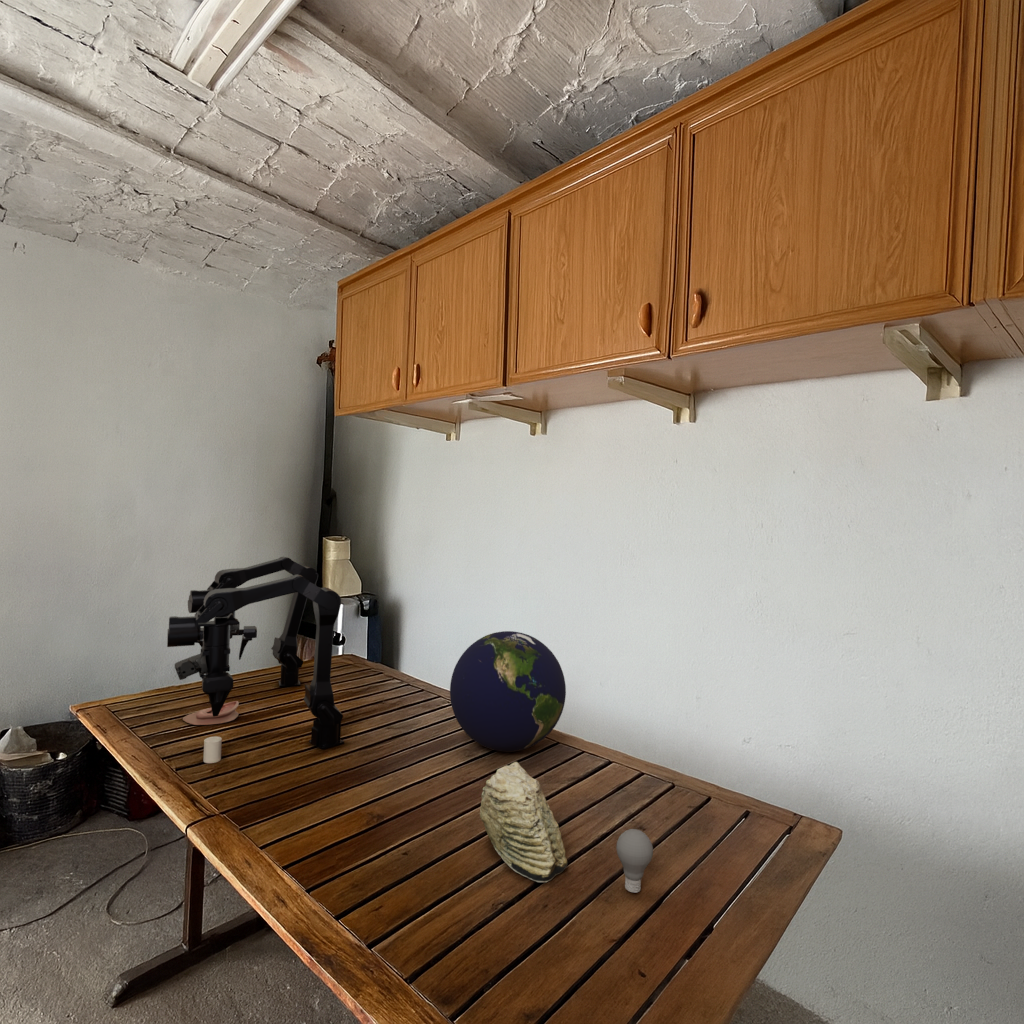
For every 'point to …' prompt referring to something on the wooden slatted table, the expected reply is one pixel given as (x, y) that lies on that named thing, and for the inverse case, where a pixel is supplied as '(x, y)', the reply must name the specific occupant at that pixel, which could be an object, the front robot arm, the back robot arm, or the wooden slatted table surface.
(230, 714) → the anatomical model
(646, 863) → the light bulb
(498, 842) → the fossil
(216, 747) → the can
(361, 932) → the wooden slatted table surface
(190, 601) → the back robot arm
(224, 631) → the front robot arm
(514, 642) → the globe
